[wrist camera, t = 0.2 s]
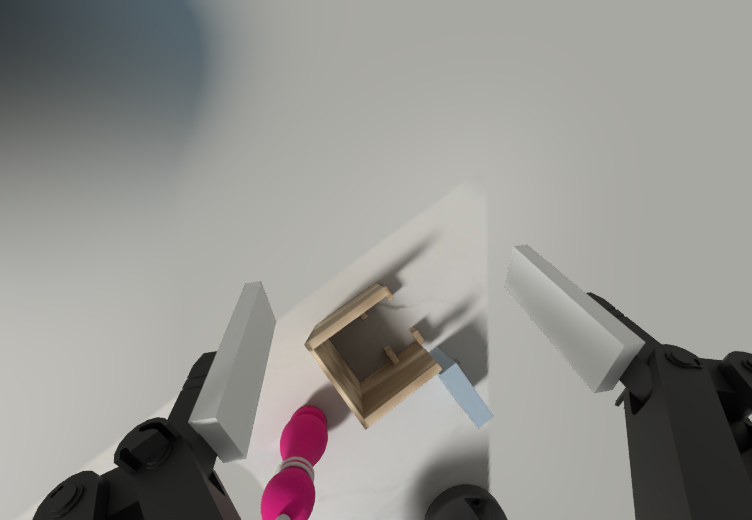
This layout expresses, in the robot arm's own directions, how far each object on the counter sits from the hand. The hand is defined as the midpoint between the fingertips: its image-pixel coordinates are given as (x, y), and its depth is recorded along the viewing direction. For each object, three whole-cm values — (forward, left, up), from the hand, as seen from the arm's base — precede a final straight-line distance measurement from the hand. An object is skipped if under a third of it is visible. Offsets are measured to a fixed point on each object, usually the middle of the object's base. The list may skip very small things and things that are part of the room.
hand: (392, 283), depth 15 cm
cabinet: (-10, +5, -35) cm, 37 cm away
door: (-24, -2, -35) cm, 43 cm away
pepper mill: (-16, +22, -35) cm, 45 cm away
